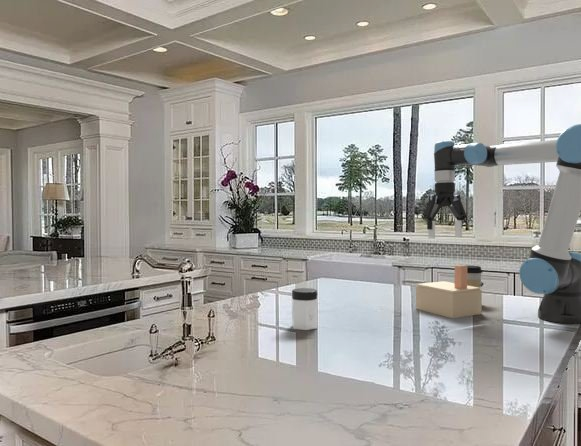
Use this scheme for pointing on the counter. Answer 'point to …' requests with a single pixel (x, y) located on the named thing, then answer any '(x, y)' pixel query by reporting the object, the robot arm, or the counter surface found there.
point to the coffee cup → (474, 275)
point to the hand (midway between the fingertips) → (445, 237)
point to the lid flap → (450, 287)
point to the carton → (449, 302)
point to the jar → (304, 309)
